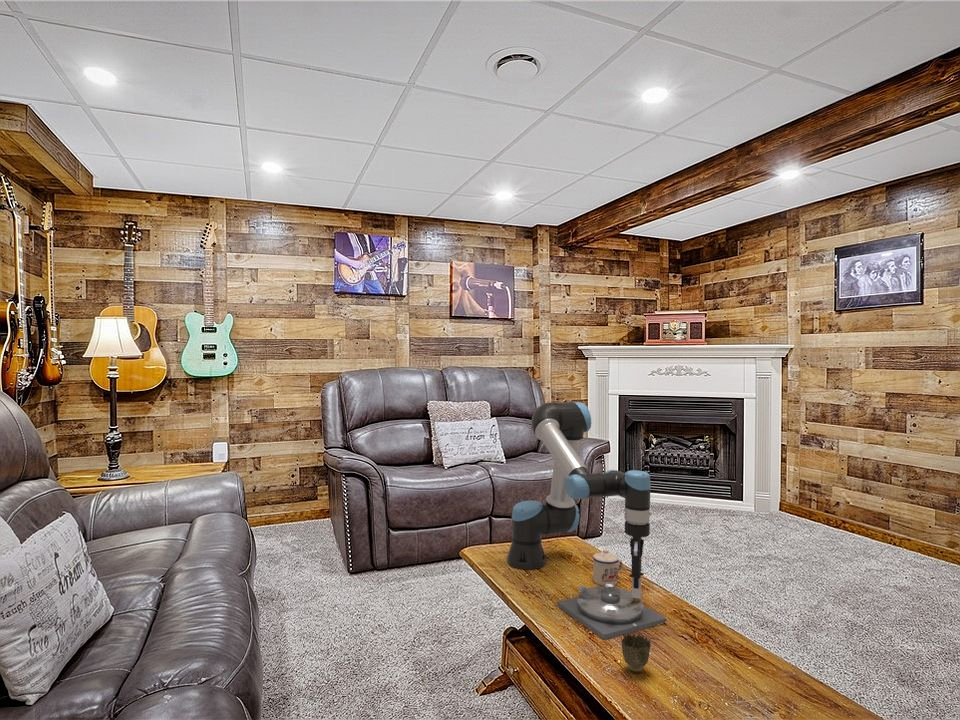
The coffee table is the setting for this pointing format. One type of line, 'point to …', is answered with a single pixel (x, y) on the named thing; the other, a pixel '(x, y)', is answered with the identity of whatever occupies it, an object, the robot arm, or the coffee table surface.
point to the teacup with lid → (606, 568)
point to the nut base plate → (610, 629)
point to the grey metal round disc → (609, 604)
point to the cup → (635, 651)
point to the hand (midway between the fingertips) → (636, 597)
